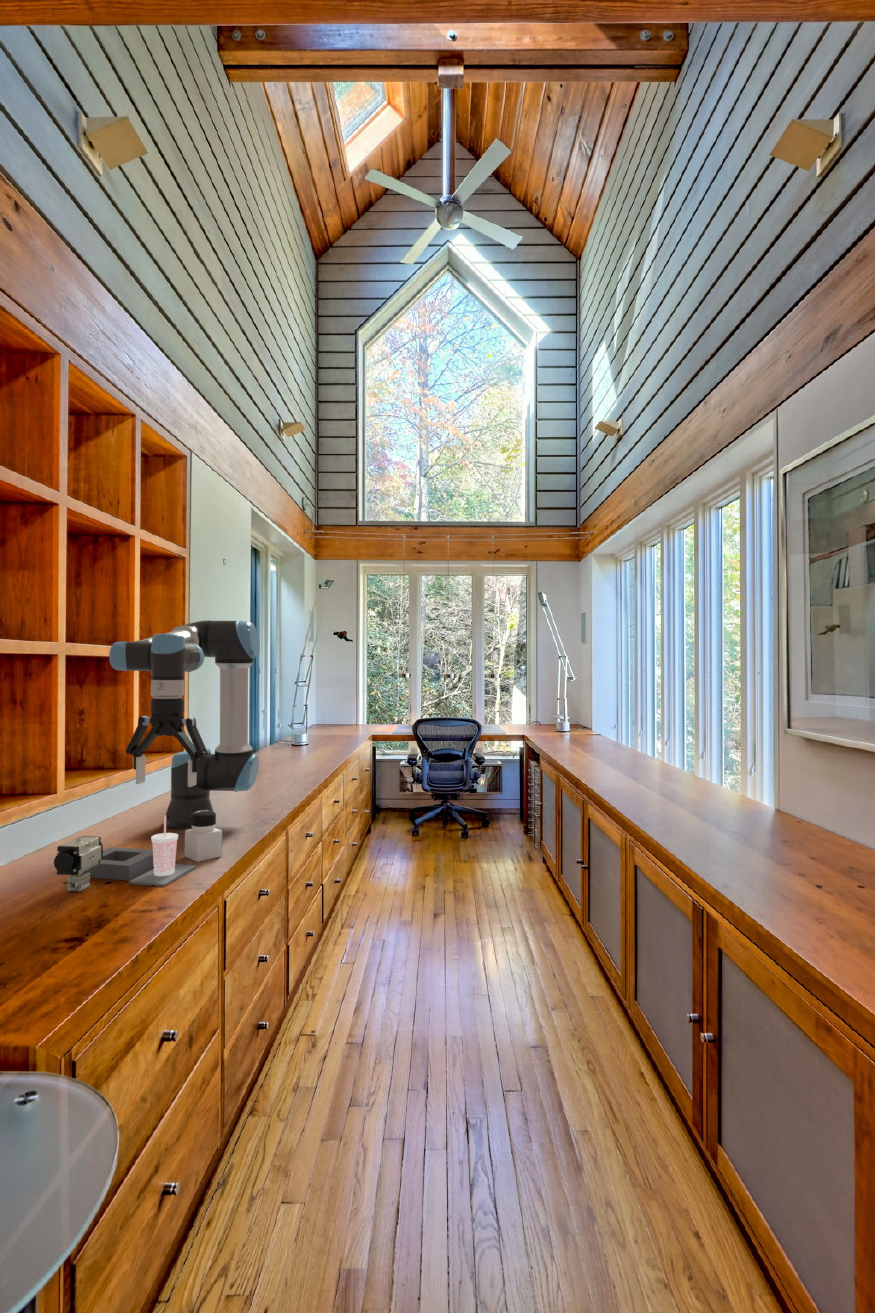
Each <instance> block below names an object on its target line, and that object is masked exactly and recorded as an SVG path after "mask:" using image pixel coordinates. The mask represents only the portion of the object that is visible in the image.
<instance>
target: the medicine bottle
mask: <svg viewBox="0 0 875 1313" xmlns="http://www.w3.org/2000/svg"><path fill="white" fill-rule="evenodd" d="M216 826H217V813H216V812H215V811H214V812H213V811H208V810H205V811H198V812H195V813H193V815H192V828H188V829H186V830H185V831H184V857H186V858H188V859H190V860H192V861H194V862H196V863H199V862H200V861H201V862H204V860H205V861H208V860H215V859H218V858H221V857H223V830H222V829H219V828H216ZM201 862H200V863H201Z"/></svg>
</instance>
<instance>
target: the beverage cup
mask: <svg viewBox="0 0 875 1313" xmlns="http://www.w3.org/2000/svg"><path fill="white" fill-rule="evenodd" d="M150 839H151V842H152V850H153V864H154V868H153V869H154V875H156V876H167V875H171V874H173V873H174V871H175V864H176V856H177V845H178V839H179V834H178V833H174V832H167V826H166V814H165V815H163V832H162V833H156V834H153V835H152V836H151V837H150Z"/></svg>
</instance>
